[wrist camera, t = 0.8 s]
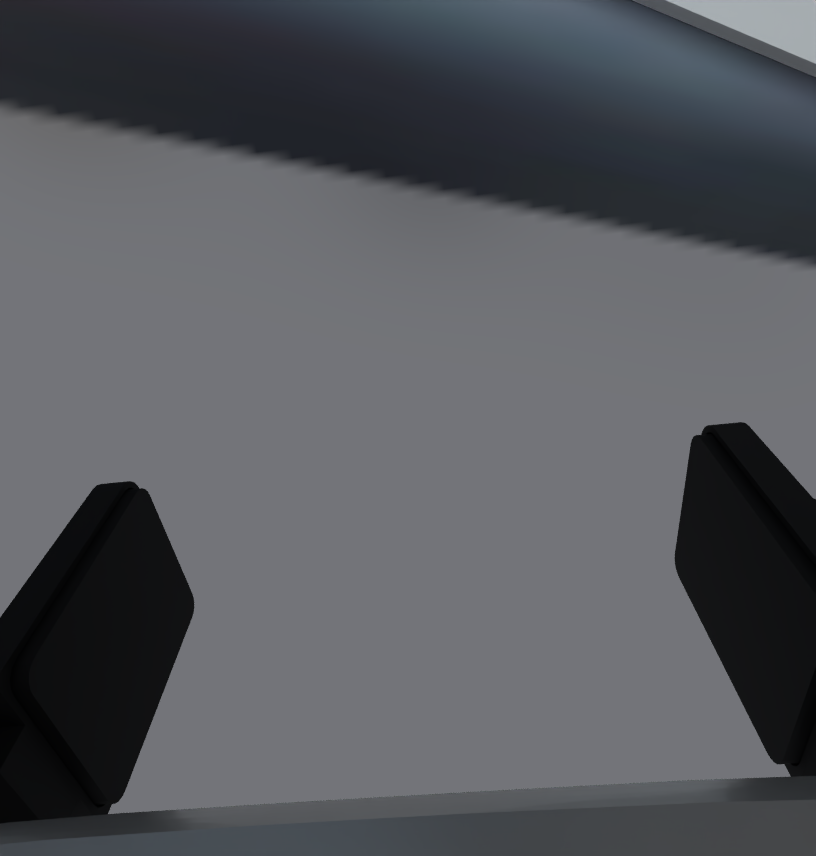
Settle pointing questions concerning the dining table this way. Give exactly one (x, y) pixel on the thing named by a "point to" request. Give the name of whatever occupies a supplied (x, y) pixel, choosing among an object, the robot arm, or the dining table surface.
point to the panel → (754, 25)
